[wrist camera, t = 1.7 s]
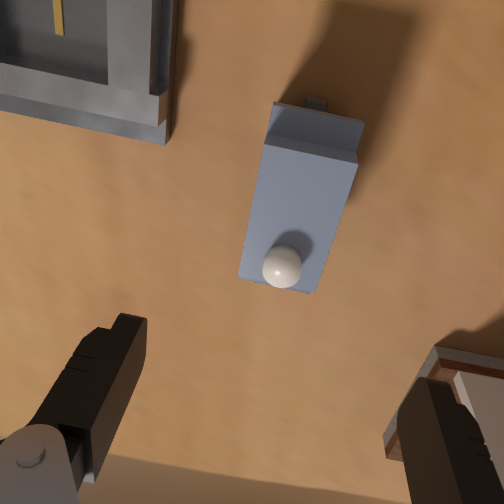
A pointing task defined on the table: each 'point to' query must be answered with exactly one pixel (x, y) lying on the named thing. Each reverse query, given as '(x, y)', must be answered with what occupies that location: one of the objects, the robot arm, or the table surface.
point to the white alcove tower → (465, 397)
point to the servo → (299, 194)
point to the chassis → (91, 64)
